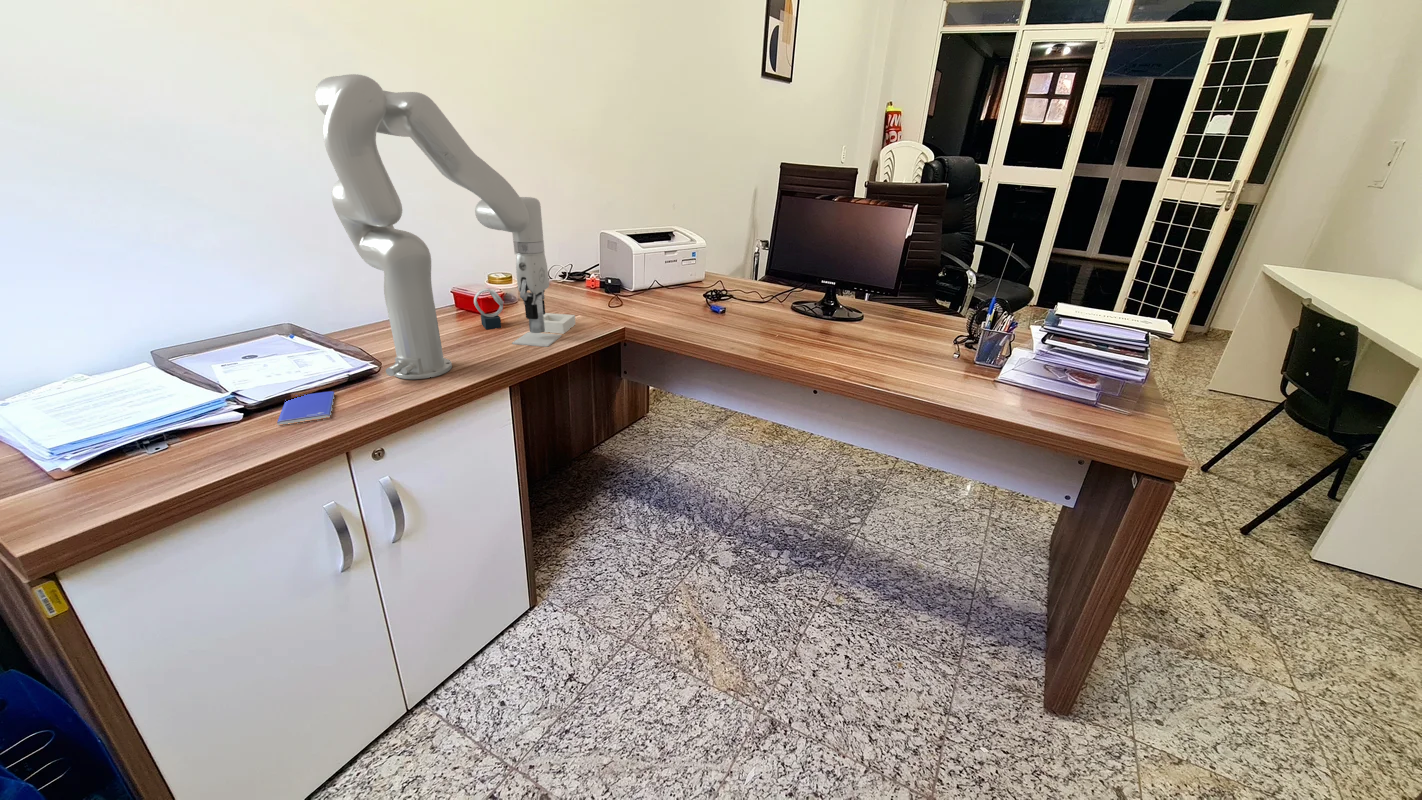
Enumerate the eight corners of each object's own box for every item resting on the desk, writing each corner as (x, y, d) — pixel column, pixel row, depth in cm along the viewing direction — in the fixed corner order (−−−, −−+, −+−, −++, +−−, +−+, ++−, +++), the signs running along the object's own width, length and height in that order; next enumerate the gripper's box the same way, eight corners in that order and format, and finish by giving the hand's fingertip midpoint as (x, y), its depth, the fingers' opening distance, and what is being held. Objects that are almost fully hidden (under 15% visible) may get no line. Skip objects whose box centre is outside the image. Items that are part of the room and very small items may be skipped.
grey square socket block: (563, 333, 160) (563, 323, 158) (532, 331, 161) (531, 321, 159) (575, 324, 168) (574, 315, 167) (545, 322, 169) (544, 312, 168)
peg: (541, 333, 151) (537, 297, 146) (527, 332, 151) (523, 296, 147) (547, 329, 154) (544, 293, 150) (533, 328, 155) (529, 292, 151)
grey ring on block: (508, 327, 164) (504, 290, 159) (479, 330, 159) (474, 292, 155) (503, 322, 168) (499, 286, 163) (475, 325, 164) (470, 288, 159)
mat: (547, 346, 148) (547, 345, 148) (512, 344, 150) (512, 342, 149) (561, 336, 158) (561, 334, 157) (528, 333, 159) (528, 332, 158)
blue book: (329, 413, 105) (333, 390, 115) (276, 421, 102) (285, 396, 111) (331, 421, 106) (335, 397, 116) (278, 428, 102) (287, 403, 112)
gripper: (529, 253, 135) (536, 326, 143) (555, 243, 151) (560, 309, 158) (500, 252, 136) (508, 324, 144) (529, 242, 151) (535, 307, 159)
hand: (535, 315), depth 151 cm, fingers closed on peg, 4 cm apart
